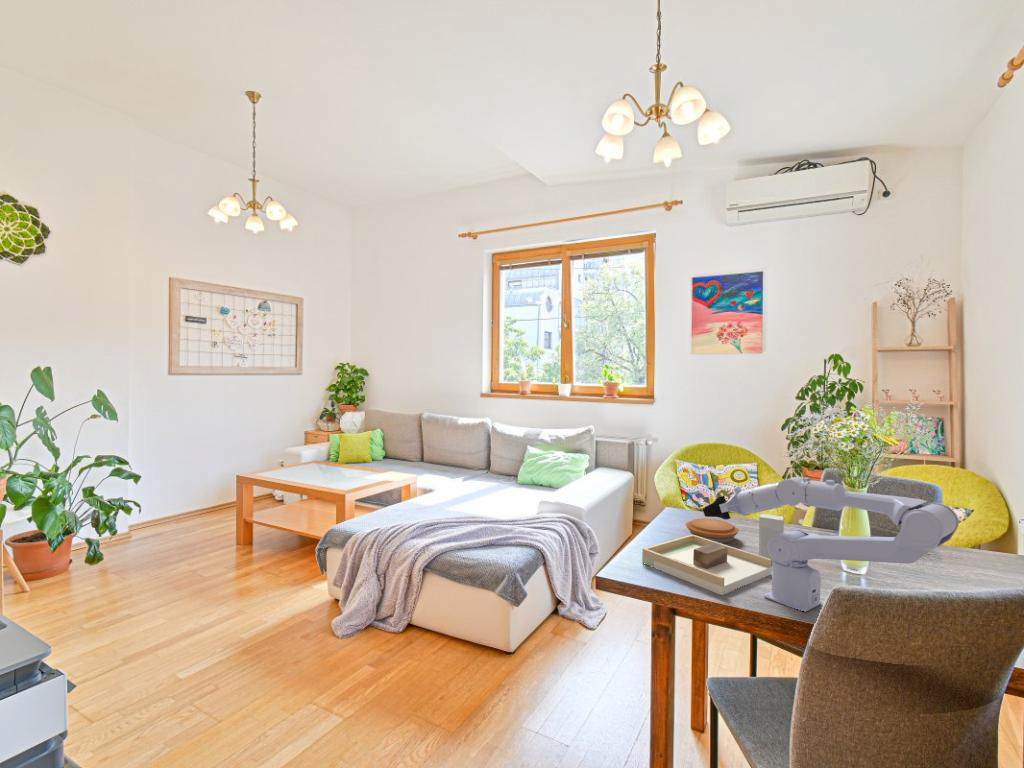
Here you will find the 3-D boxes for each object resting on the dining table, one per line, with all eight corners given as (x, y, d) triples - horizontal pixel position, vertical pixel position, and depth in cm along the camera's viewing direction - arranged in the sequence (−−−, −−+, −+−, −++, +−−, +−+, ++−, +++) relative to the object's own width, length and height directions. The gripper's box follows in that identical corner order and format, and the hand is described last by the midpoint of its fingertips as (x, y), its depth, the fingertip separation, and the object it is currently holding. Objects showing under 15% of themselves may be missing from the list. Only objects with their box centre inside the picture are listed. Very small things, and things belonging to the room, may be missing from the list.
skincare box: (783, 558, 146) (784, 516, 145) (782, 563, 142) (783, 520, 142) (759, 554, 149) (760, 513, 148) (758, 559, 145) (759, 516, 145)
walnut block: (727, 561, 137) (727, 547, 137) (706, 569, 132) (707, 553, 132) (713, 557, 141) (713, 542, 141) (693, 564, 135) (693, 549, 135)
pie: (731, 550, 152) (731, 533, 152) (678, 539, 162) (679, 523, 161) (743, 537, 164) (744, 521, 164) (694, 527, 174) (695, 512, 174)
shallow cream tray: (771, 574, 134) (771, 559, 134) (721, 595, 122) (722, 578, 121) (691, 547, 154) (692, 534, 154) (642, 563, 141) (642, 548, 141)
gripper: (769, 479, 131) (723, 491, 141) (736, 486, 122) (691, 498, 133) (779, 507, 128) (733, 517, 139) (747, 516, 120) (700, 526, 130)
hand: (713, 510), depth 136 cm, fingers open, 7 cm apart
